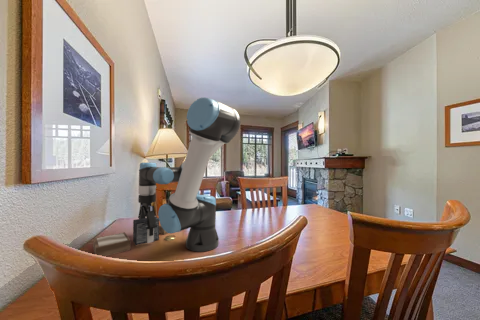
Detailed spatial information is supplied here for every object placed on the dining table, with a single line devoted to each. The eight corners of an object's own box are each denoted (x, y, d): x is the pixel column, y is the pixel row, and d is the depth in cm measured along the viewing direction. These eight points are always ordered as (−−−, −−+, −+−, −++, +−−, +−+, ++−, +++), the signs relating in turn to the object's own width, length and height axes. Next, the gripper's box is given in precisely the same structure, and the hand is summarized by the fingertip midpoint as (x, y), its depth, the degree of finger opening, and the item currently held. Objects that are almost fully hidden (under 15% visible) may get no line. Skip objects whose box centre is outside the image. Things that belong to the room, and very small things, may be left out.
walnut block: (171, 232, 104) (172, 224, 104) (164, 235, 100) (164, 227, 100) (165, 230, 107) (165, 223, 107) (158, 233, 102) (158, 225, 103)
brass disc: (177, 239, 95) (177, 237, 95) (167, 242, 92) (167, 240, 92) (172, 236, 99) (172, 234, 99) (163, 239, 95) (163, 237, 95)
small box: (155, 236, 98) (156, 215, 98) (159, 240, 93) (159, 218, 93) (132, 241, 92) (133, 219, 92) (135, 245, 87) (135, 222, 87)
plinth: (130, 249, 83) (130, 239, 83) (95, 258, 75) (96, 247, 75) (124, 240, 92) (124, 231, 92) (93, 247, 84) (93, 238, 84)
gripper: (164, 197, 86) (163, 244, 86) (147, 190, 104) (146, 228, 104) (146, 199, 81) (145, 249, 81) (132, 191, 99) (131, 231, 99)
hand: (145, 237), depth 92 cm, fingers open, 13 cm apart
